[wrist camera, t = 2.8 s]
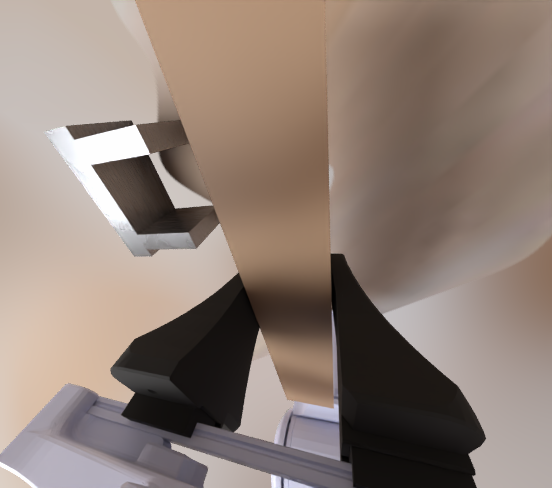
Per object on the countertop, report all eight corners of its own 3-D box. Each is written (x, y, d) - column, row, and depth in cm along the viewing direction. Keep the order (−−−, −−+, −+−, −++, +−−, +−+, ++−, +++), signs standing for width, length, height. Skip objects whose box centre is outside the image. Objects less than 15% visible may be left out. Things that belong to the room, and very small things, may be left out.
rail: (332, 342, 18) (333, 408, 14) (295, 338, 19) (287, 399, 15) (323, -39, 6) (317, -305, 2) (223, 2, 7) (86, -128, 3)
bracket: (225, 225, 20) (199, 256, 16) (169, 228, 22) (134, 256, 18) (182, 107, 14) (127, 108, 10) (113, 125, 16) (43, 131, 12)
